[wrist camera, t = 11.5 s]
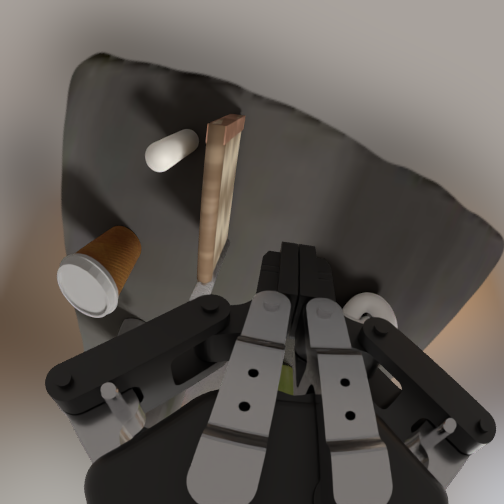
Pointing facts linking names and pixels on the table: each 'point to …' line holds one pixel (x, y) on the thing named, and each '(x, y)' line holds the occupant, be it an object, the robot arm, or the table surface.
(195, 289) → the translucent grey rod
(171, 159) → the post
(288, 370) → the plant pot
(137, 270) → the table surface
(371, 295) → the white decorative knot
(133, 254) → the disposable coffee cup
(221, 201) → the brown flat block
